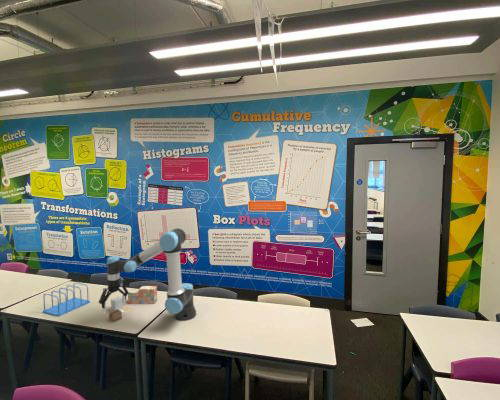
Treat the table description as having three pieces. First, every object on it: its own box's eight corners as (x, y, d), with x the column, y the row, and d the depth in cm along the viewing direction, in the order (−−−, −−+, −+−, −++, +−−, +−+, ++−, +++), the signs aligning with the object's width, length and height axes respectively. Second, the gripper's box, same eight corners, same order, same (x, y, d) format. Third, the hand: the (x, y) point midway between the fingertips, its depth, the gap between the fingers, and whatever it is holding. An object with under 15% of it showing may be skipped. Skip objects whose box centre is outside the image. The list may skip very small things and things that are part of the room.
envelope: (134, 309, 203) (134, 309, 203) (113, 318, 190) (113, 318, 190) (122, 304, 213) (122, 303, 213) (102, 312, 200) (102, 312, 199)
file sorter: (58, 317, 193) (57, 297, 191) (42, 313, 199) (41, 293, 197) (90, 302, 216) (89, 284, 215) (74, 299, 222) (73, 281, 221)
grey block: (123, 308, 205) (122, 298, 204) (115, 311, 200) (115, 301, 199) (119, 306, 208) (118, 296, 208) (111, 309, 203) (110, 299, 203)
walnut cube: (122, 319, 189) (121, 311, 189) (113, 323, 184) (113, 315, 184) (117, 317, 193) (117, 309, 192) (109, 320, 188) (108, 312, 187)
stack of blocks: (127, 304, 213) (127, 289, 212) (131, 300, 220) (130, 285, 219) (154, 304, 213) (154, 289, 212) (157, 300, 219) (157, 285, 218)
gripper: (127, 272, 199) (128, 300, 200) (92, 283, 178) (93, 313, 180) (133, 274, 194) (134, 303, 196) (97, 285, 174) (98, 317, 176)
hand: (114, 308), depth 188 cm, fingers open, 13 cm apart
